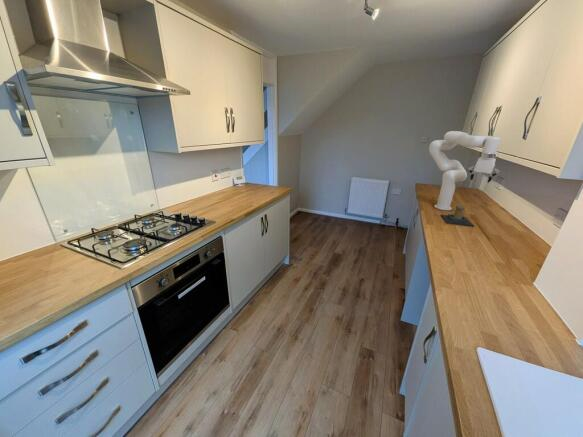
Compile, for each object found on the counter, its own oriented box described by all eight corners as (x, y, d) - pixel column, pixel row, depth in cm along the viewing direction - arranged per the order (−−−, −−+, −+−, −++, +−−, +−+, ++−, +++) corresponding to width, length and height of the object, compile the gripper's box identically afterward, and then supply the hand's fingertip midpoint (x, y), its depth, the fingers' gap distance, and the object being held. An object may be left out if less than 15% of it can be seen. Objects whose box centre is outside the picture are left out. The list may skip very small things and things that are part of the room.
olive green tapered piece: (463, 221, 168) (467, 206, 164) (453, 220, 169) (458, 206, 165) (459, 218, 173) (463, 204, 169) (450, 217, 174) (454, 203, 170)
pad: (441, 215, 181) (442, 212, 180) (465, 218, 176) (466, 214, 175) (446, 223, 166) (448, 219, 165) (473, 226, 162) (474, 222, 161)
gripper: (505, 157, 156) (496, 182, 163) (473, 154, 168) (466, 178, 174) (503, 158, 151) (494, 184, 158) (471, 155, 163) (463, 179, 170)
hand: (479, 181), depth 166 cm, fingers open, 9 cm apart
